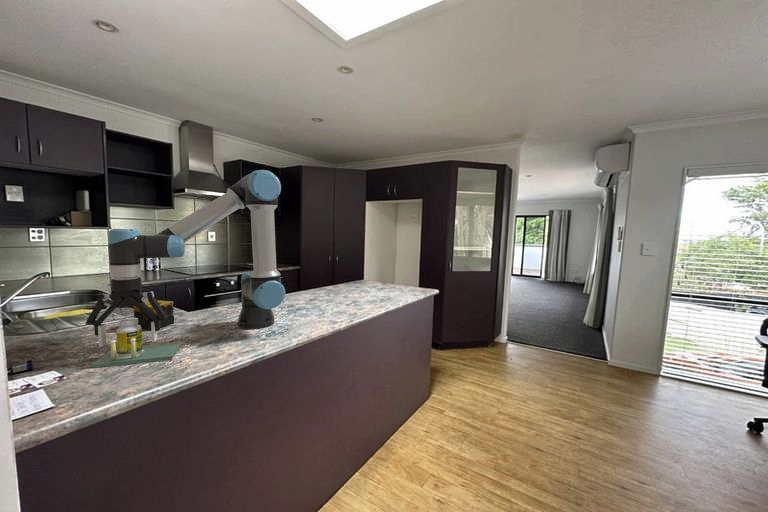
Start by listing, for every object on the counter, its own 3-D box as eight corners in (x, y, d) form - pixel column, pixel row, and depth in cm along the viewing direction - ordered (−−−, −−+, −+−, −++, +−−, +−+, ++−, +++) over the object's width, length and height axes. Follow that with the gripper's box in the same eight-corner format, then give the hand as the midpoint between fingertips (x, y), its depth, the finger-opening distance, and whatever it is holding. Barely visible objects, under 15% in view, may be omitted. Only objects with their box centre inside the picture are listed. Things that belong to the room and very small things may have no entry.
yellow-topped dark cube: (154, 322, 135) (154, 299, 135) (175, 323, 134) (174, 301, 133) (133, 329, 125) (132, 305, 125) (155, 331, 124) (154, 307, 123)
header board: (181, 346, 109) (181, 325, 109) (171, 359, 98) (171, 337, 97) (111, 352, 102) (110, 331, 102) (92, 368, 91) (91, 344, 90)
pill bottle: (128, 358, 95) (126, 323, 95) (112, 356, 97) (110, 321, 96) (147, 350, 101) (146, 317, 101) (131, 348, 103) (130, 316, 102)
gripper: (175, 274, 105) (177, 335, 107) (82, 277, 96) (86, 342, 98) (169, 278, 98) (171, 342, 100) (67, 281, 89) (72, 351, 91)
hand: (129, 343), depth 99 cm, fingers open, 13 cm apart
